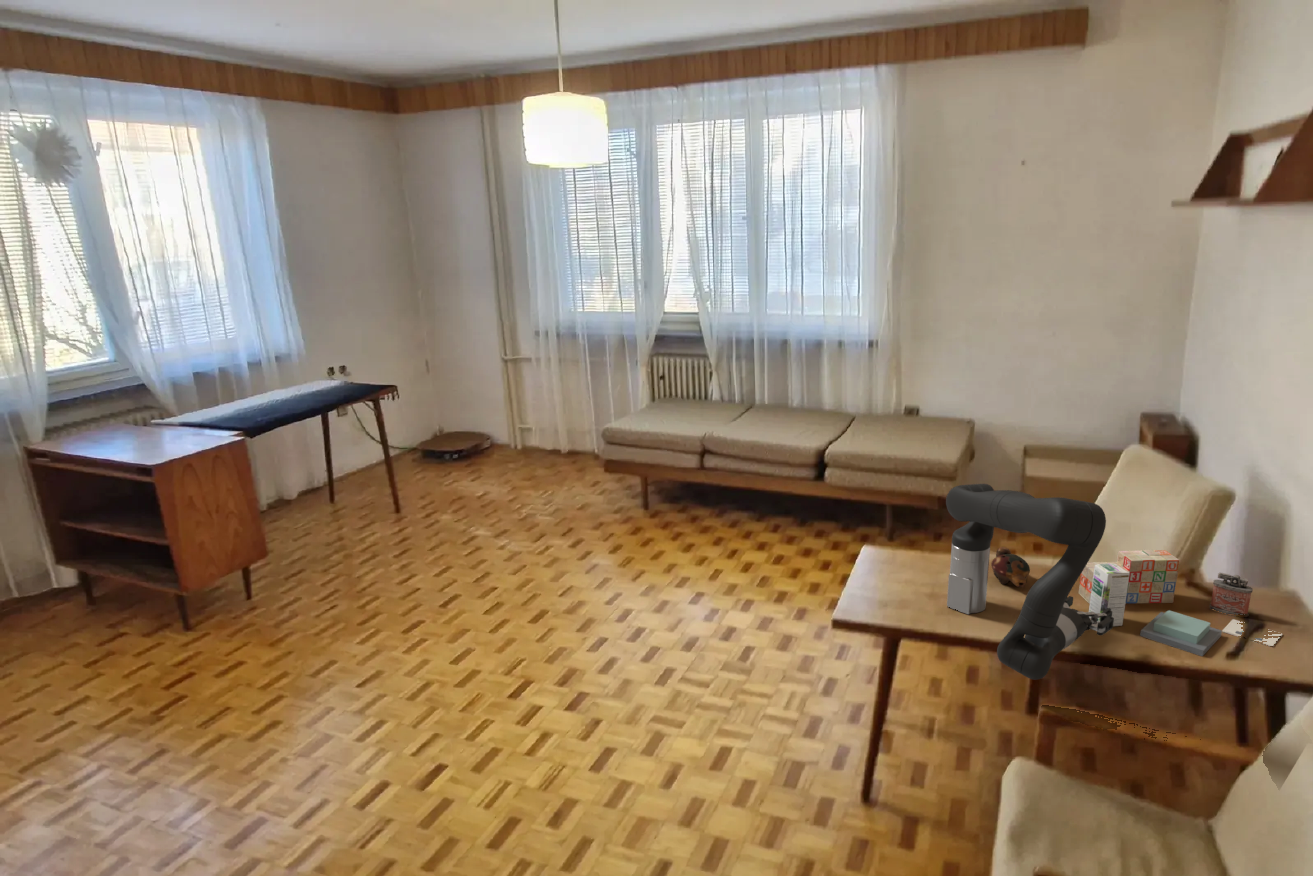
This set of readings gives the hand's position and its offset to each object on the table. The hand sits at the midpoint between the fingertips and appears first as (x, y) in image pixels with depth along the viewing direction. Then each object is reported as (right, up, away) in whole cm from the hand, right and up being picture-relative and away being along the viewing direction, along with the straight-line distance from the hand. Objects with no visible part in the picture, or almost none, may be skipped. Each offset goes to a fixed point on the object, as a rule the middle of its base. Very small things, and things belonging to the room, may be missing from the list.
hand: (1089, 605), depth 191 cm
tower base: (+22, -7, +1) cm, 24 cm away
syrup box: (+9, -6, +9) cm, 14 cm away
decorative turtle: (-5, 0, +32) cm, 33 cm away
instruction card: (+39, -7, +1) cm, 40 cm away
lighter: (+41, -4, +11) cm, 43 cm away
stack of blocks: (+20, -2, +21) cm, 29 cm away
